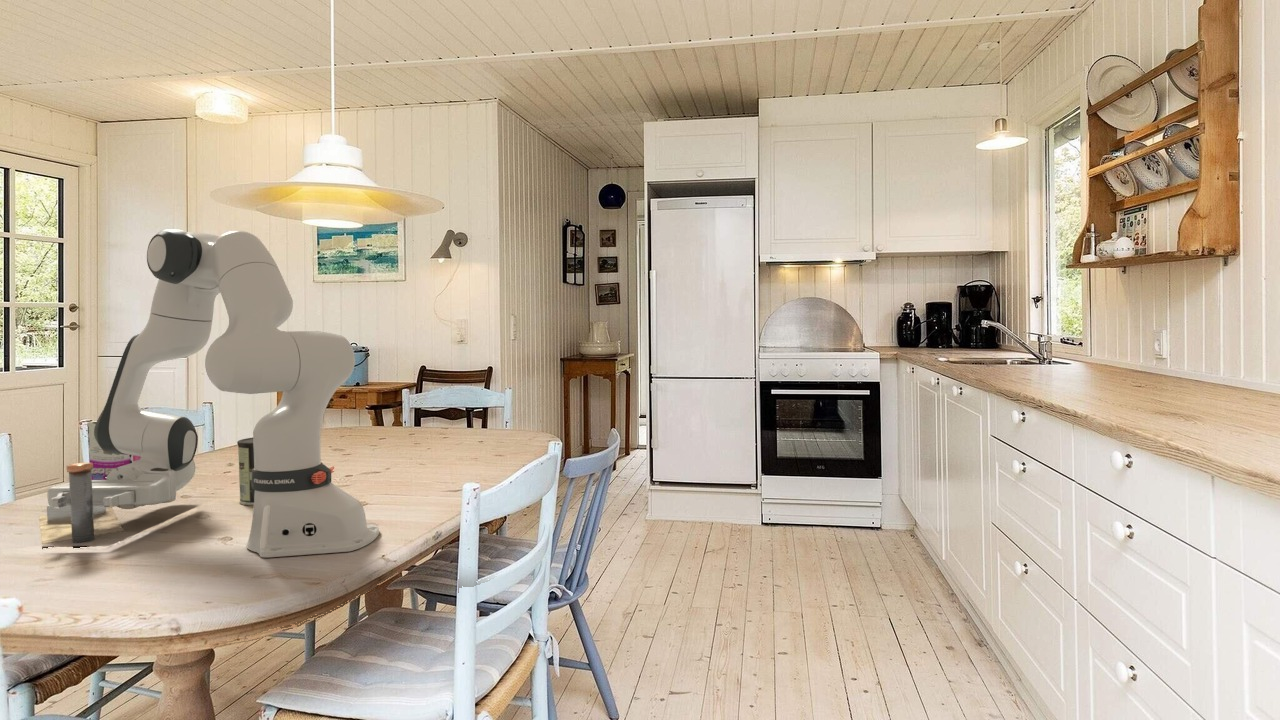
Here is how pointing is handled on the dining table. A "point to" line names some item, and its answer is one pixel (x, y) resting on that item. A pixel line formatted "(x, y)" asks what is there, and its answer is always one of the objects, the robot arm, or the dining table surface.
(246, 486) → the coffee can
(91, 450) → the candy bar box
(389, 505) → the dining table surface
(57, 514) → the shallow grey tray
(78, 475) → the pin
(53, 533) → the tan wooden board
